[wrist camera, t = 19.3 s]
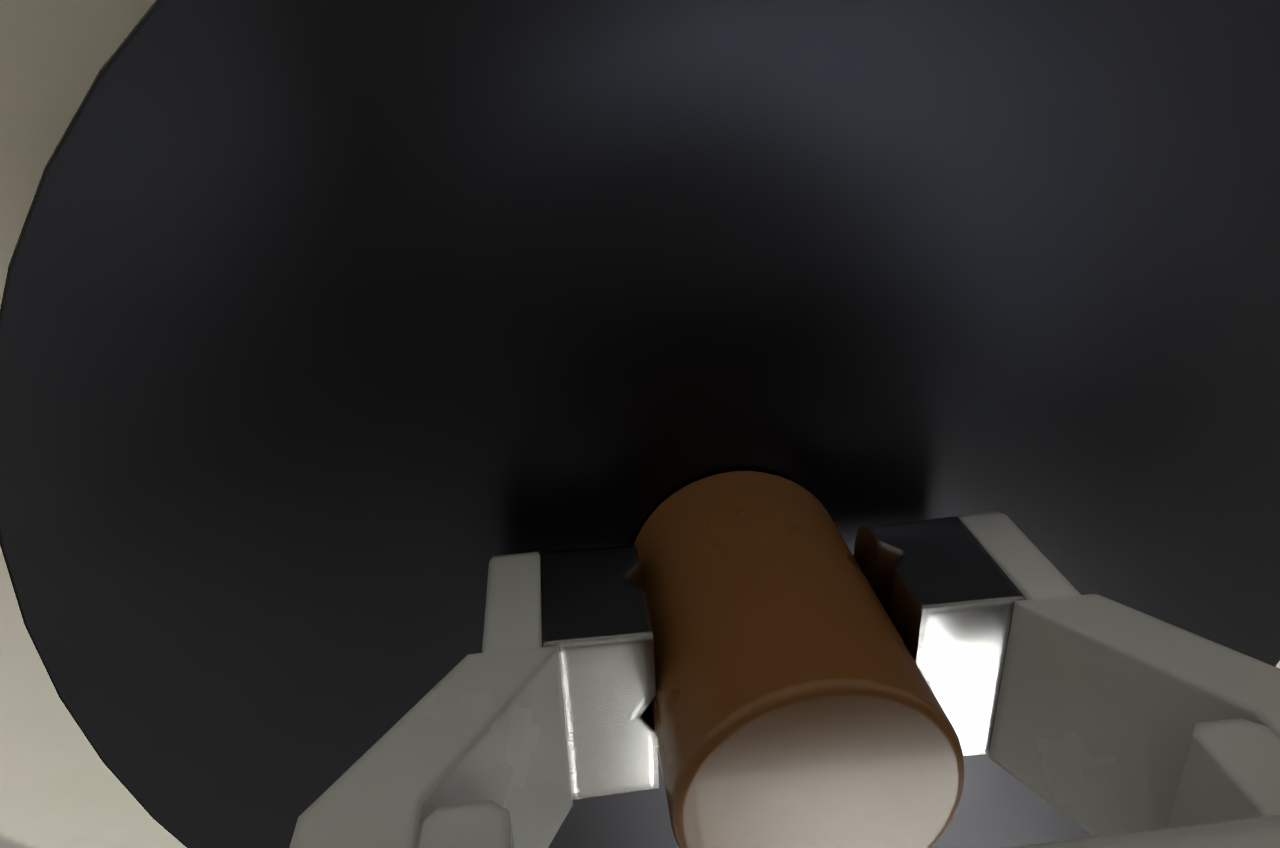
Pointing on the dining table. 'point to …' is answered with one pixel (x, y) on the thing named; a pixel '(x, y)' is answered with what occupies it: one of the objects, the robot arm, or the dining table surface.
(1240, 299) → the pan lid
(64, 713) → the dining table surface
